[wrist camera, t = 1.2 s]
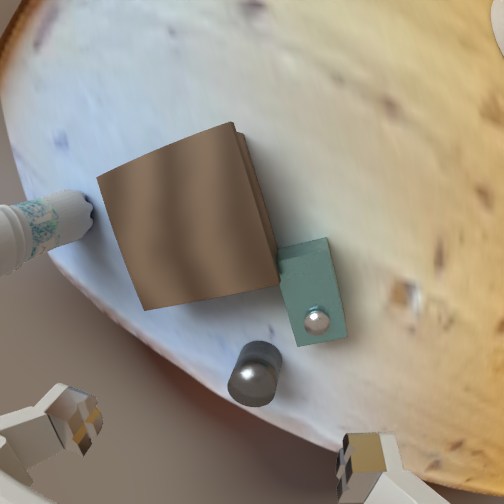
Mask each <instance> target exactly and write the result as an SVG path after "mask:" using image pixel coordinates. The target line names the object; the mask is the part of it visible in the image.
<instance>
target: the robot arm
mask: <svg viewBox="0 0 504 504" xmlns="http://www.w3.org/2000/svg"><path fill="white" fill-rule="evenodd" d="M491 23H492V28H493V32H494V35H495V38H496V41H497V43H498V46H499V48H500V50H501V52H502V54H503V56H504V0H494V1H493V4H492V7H491ZM97 404H98V402H97V399H96V396H94V395H92V394H89V393H86V392H83V391H81V390H78V389H75V388H73V387H70V386H67V385H64V384H62V383H58V384H56V385H55V386H54V387H53V388H52V389H51V390H50V391H49V392H48V393H47V394H46V395H45V396H44V397H43V398H42V399H41V400H40V401H39V402H38V404H37V405H36V406H35V407H34V408H33V407H31V406H30V407H27V408H24V409H21V410H18V411H15V412H12V413H9V414H6V415H3V416H0V504H58V503H56V502H54V501H52V500H50V499H49V498H47V497H45V496H43V495H41V494H40V493H38V492H36V491H35V490H33V489H31V488H30V486H31V485H32V483H33V479H32V477H31V476H30V475H29V473H28V472H27V469H30V468H32V467H34V466H36V465H37V464H39V463H41V462H43V461H45V460H47V459H49V458H51V457H53V456H55V455H56V454H58V453H60V452H62V451H64V449H66V450H68V451H71V452H73V453H76V454H78V455H81V456H84V455H85V454H86V452H87V451H88V449H89V448H90V446H91V445H92V442H91V439H92V438H94V437H96V436H98V434H99V433H100V431H101V429H102V425H103V417H102V414H101V412H100V411H99V409H98V408H97V407H96V405H97ZM336 476H337V477H338V478H339V479H340V481H339V483H338V485H337V499H338V503H362V502H363V503H364V504H450V503H449V502H447V501H446V500H445V499H444V498H443V497H441V496H440V495H439V494H438V493H436V492H435V491H434V490H433V489H431V488H430V487H429V486H428V485H426V484H425V483H424V482H423V481H422V480H420V479H419V478H418V477H417V476H416V475H414V474H413V473H412V472H411V471H410V470H404V467H403V463H402V459H401V455H400V452H399V448H398V444H397V441H396V437H395V434H394V433H393V432H378V433H376V432H372V433H346V434H345V436H344V438H343V448H341V449H340V450H339V452H338V456H337V461H336Z"/></svg>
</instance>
